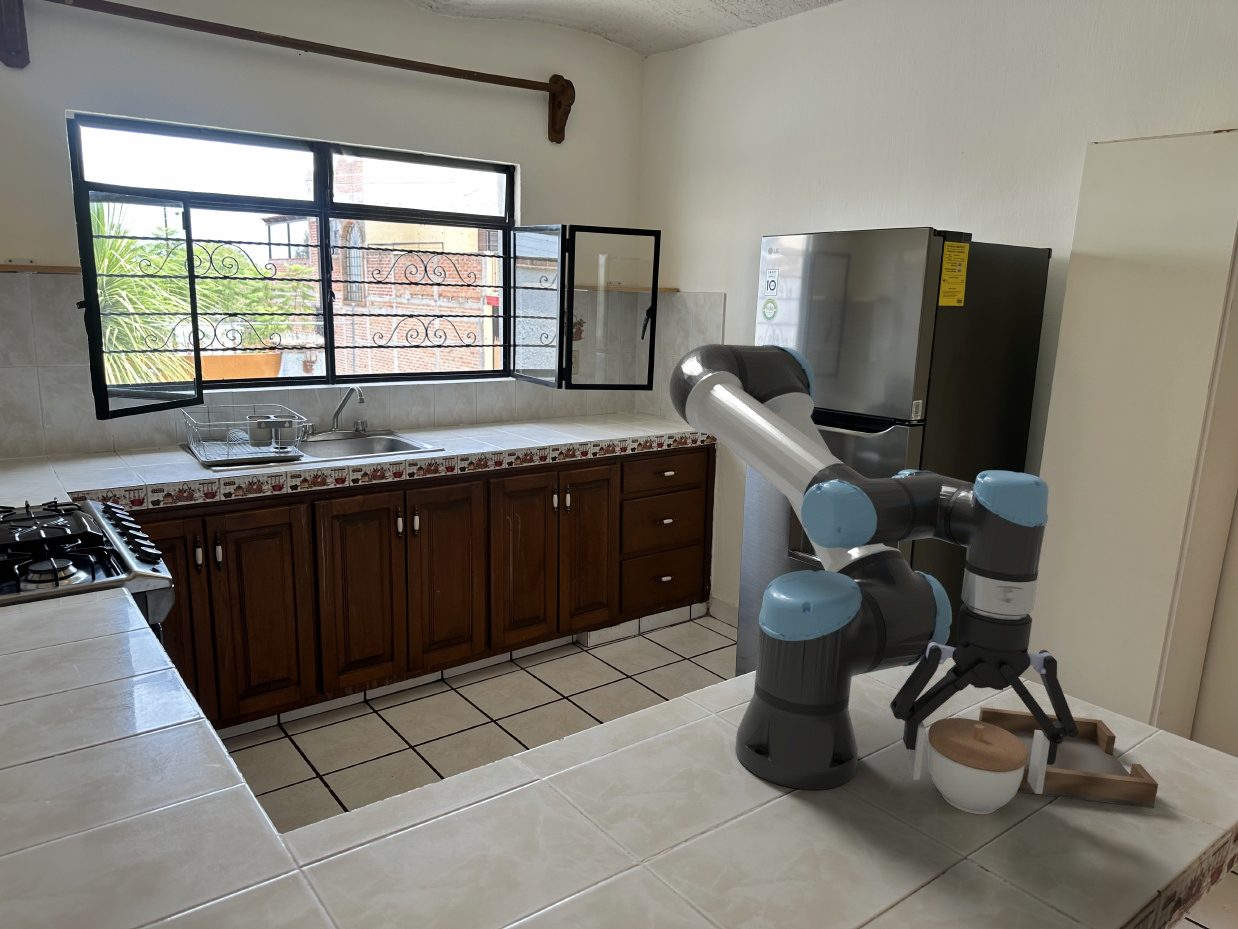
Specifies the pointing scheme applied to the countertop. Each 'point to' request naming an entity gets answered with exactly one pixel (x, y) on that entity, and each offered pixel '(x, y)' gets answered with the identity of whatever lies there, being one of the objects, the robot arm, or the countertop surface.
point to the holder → (1080, 762)
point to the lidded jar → (975, 764)
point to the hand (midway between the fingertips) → (973, 781)
